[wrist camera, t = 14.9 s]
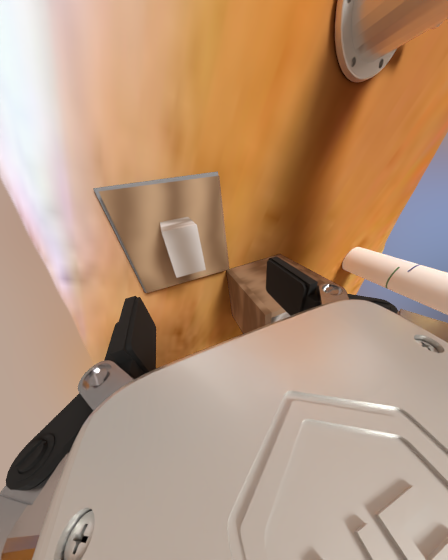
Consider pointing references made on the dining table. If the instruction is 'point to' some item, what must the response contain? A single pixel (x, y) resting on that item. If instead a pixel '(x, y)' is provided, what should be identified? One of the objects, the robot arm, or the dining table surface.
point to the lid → (171, 229)
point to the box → (257, 293)
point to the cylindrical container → (400, 277)
